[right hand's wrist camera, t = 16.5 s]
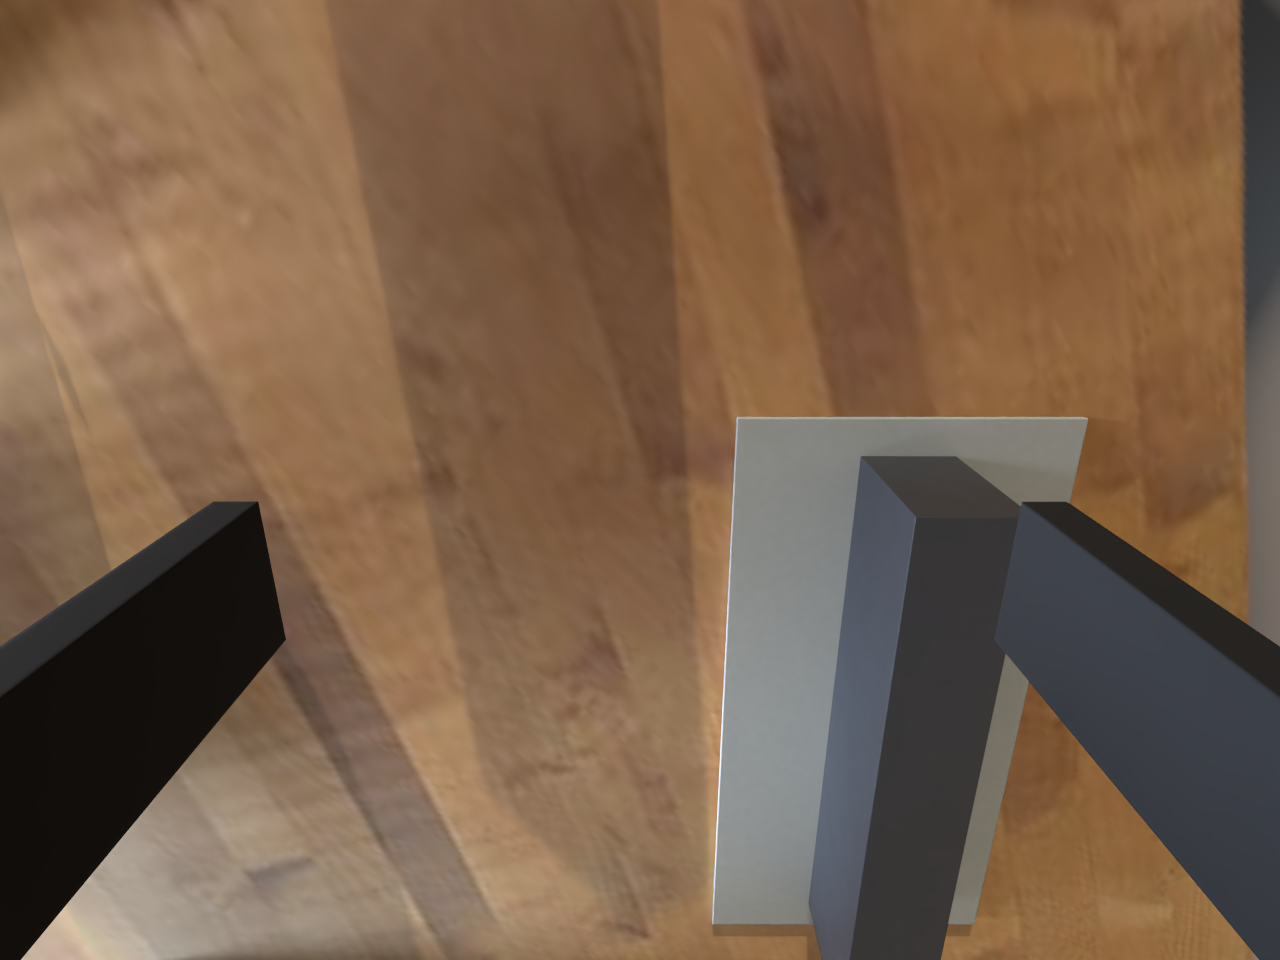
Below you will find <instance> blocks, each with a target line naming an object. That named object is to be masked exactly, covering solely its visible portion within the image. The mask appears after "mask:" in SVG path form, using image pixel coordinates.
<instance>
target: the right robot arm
mask: <svg viewBox="0 0 1280 960" xmlns="http://www.w3.org/2000/svg"><path fill="white" fill-rule="evenodd" d="M285 640H286V638H285V633H284V628H283V623H282V618H281V613H280V608H279V603H278V598H277V593H276V588H275V583H274V578H273V573H272V568H271V563H270V558H269V553H268V548H267V543H266V538H265V533H264V528H263V523H262V518H261V513H260V509H259V504H258V502H212V503H211V504H209V505H208V506H206V507H205V508H204V509H202V510H201V511H199V512H198V513H196V514H195V515H193V516H192V517H190V518H189V519H187V520H186V521H184V522H183V523H181V524H180V525H179V526H177V527H176V528H174V529H173V530H171V531H170V532H168V533H167V534H165V535H164V536H162V537H161V538H159V539H158V540H156V541H155V542H153V543H152V544H151V545H149V546H148V547H146V548H145V549H143V550H142V551H140V552H139V553H137V554H136V555H134V556H133V557H131V558H130V559H128V560H127V561H126V562H124V563H123V564H121V565H120V566H118V567H117V568H115V569H114V570H112V571H111V572H109V573H108V574H106V575H105V576H103V577H102V578H101V579H99V580H98V581H96V582H95V583H93V584H92V585H90V586H89V587H87V588H86V589H84V590H83V591H81V592H80V593H78V594H77V595H76V596H74V597H73V598H71V599H70V600H68V601H67V602H65V603H64V604H62V605H61V606H59V607H58V608H56V609H55V610H53V611H52V612H51V613H49V614H48V615H46V616H45V617H43V618H42V619H40V620H39V621H37V622H36V623H34V624H33V625H31V626H30V627H28V628H27V629H26V630H24V631H23V632H21V633H20V634H18V635H17V636H15V637H14V638H12V639H11V640H9V641H8V642H6V643H5V644H3V645H2V646H1V647H0V960H21V959H22V957H23V956H24V955H25V954H26V953H27V951H28V950H29V949H30V948H31V947H32V945H33V944H34V943H35V942H36V941H37V939H38V938H39V937H40V936H41V935H42V933H43V932H44V931H45V930H46V929H47V927H48V926H49V925H50V924H51V922H52V921H53V920H54V919H55V918H56V916H57V915H58V914H59V913H60V912H61V910H62V909H63V908H64V907H65V906H66V904H67V903H68V902H69V901H70V900H71V898H72V897H73V896H74V895H75V893H76V892H77V891H78V890H79V889H80V887H81V886H82V885H83V884H84V883H85V881H86V880H87V879H88V878H89V877H90V875H91V874H92V873H93V872H94V871H95V869H96V868H97V867H98V866H99V864H100V863H101V862H102V861H103V860H104V858H105V857H106V856H107V855H108V854H109V852H110V851H111V850H112V849H113V848H114V846H115V845H116V844H117V843H118V842H119V840H120V839H121V838H122V837H123V836H124V834H125V833H126V832H127V831H128V829H129V828H130V827H131V826H132V825H133V823H134V822H135V821H136V820H137V819H138V817H139V816H140V815H141V814H142V813H143V811H144V810H145V809H146V808H147V807H148V805H149V804H150V803H151V802H152V800H153V799H154V798H155V797H156V796H157V794H158V793H159V792H160V791H161V790H162V788H163V787H164V786H165V785H166V784H167V782H168V781H169V780H170V779H171V778H172V776H173V775H174V774H175V773H176V772H177V770H178V769H179V768H180V767H181V765H182V764H183V763H184V762H185V761H186V759H187V758H188V757H189V756H190V755H191V753H192V752H193V751H194V750H195V749H196V747H197V746H198V745H199V744H200V743H201V741H202V740H203V739H204V738H205V736H206V735H207V734H208V733H209V732H210V730H211V729H212V728H213V727H214V726H215V724H216V723H217V722H218V721H219V720H220V718H221V717H222V716H223V715H224V714H225V712H226V711H227V710H228V709H229V708H230V706H231V705H232V704H233V703H234V701H235V700H236V699H237V698H238V697H239V695H240V694H241V693H242V692H243V691H244V689H245V688H246V687H247V686H248V685H249V683H250V682H251V681H252V680H253V679H254V677H255V676H256V675H257V674H258V672H259V671H260V670H261V669H262V668H263V666H264V665H265V664H266V663H267V662H268V660H269V659H270V658H271V657H272V656H273V654H274V653H275V652H276V651H277V650H278V648H279V647H280V646H281V645H282V644H283V642H284V641H285ZM994 640H995V641H996V642H997V644H998V645H999V646H1000V647H1001V648H1002V650H1003V651H1004V652H1005V653H1006V654H1007V656H1008V657H1009V658H1010V659H1011V660H1012V662H1013V663H1014V664H1015V665H1016V666H1017V668H1018V669H1019V670H1020V671H1021V672H1022V674H1023V675H1024V676H1025V677H1026V679H1027V680H1028V681H1029V682H1030V683H1031V685H1032V686H1033V687H1034V688H1035V689H1036V691H1037V692H1038V693H1039V694H1040V695H1041V697H1042V698H1043V699H1044V700H1045V701H1046V703H1047V704H1048V705H1049V706H1050V708H1051V709H1052V710H1053V711H1054V712H1055V714H1056V715H1057V716H1058V717H1059V718H1060V720H1061V721H1062V722H1063V723H1064V724H1065V726H1066V727H1067V728H1068V729H1069V730H1070V732H1071V733H1072V734H1073V735H1074V736H1075V738H1076V739H1077V740H1078V741H1079V743H1080V744H1081V745H1082V746H1083V747H1084V749H1085V750H1086V751H1087V752H1088V753H1089V755H1090V756H1091V757H1092V758H1093V759H1094V761H1095V762H1096V763H1097V764H1098V765H1099V767H1100V768H1101V769H1102V770H1103V772H1104V773H1105V774H1106V775H1107V776H1108V778H1109V779H1110V780H1111V781H1112V782H1113V784H1114V785H1115V786H1116V787H1117V788H1118V790H1119V791H1120V792H1121V793H1122V794H1123V796H1124V797H1125V798H1126V799H1127V800H1128V802H1129V803H1130V804H1131V805H1132V807H1133V808H1134V809H1135V810H1136V811H1137V813H1138V814H1139V815H1140V816H1141V817H1142V819H1143V820H1144V821H1145V822H1146V823H1147V825H1148V826H1149V827H1150V828H1151V829H1152V831H1153V832H1154V833H1155V834H1156V836H1157V837H1158V838H1159V839H1160V840H1161V842H1162V843H1163V844H1164V845H1165V846H1166V848H1167V849H1168V850H1169V851H1170V852H1171V854H1172V855H1173V856H1174V857H1175V858H1176V860H1177V861H1178V862H1179V863H1180V864H1181V866H1182V867H1183V868H1184V869H1185V871H1186V872H1187V873H1188V874H1189V875H1190V877H1191V878H1192V879H1193V880H1194V881H1195V883H1196V884H1197V885H1198V886H1199V887H1200V889H1201V890H1202V891H1203V892H1204V893H1205V895H1206V896H1207V897H1208V898H1209V900H1210V901H1211V902H1212V903H1213V904H1214V906H1215V907H1216V908H1217V909H1218V910H1219V912H1220V913H1221V914H1222V915H1223V916H1224V918H1225V919H1226V920H1227V921H1228V922H1229V924H1230V925H1231V926H1232V927H1233V929H1234V930H1235V931H1236V932H1237V933H1238V935H1239V936H1240V937H1241V938H1242V939H1243V941H1244V942H1245V943H1246V944H1247V945H1248V947H1249V948H1250V949H1251V950H1252V951H1253V953H1254V954H1255V955H1256V956H1257V957H1258V959H1259V960H1280V647H1279V646H1278V645H1277V644H1275V643H1274V642H1272V641H1271V640H1269V639H1268V638H1266V637H1265V636H1263V635H1262V634H1260V633H1259V632H1257V631H1256V630H1254V629H1253V628H1252V627H1250V626H1249V625H1247V624H1246V623H1244V622H1243V621H1241V620H1240V619H1238V618H1237V617H1235V616H1234V615H1232V614H1231V613H1229V612H1228V611H1227V610H1225V609H1224V608H1222V607H1221V606H1219V605H1218V604H1216V603H1215V602H1213V601H1212V600H1210V599H1209V598H1207V597H1206V596H1204V595H1203V594H1202V593H1200V592H1199V591H1197V590H1196V589H1194V588H1193V587H1191V586H1190V585H1188V584H1187V583H1185V582H1184V581H1182V580H1181V579H1179V578H1178V577H1177V576H1175V575H1174V574H1172V573H1171V572H1169V571H1168V570H1166V569H1165V568H1163V567H1162V566H1160V565H1159V564H1157V563H1156V562H1154V561H1153V560H1152V559H1150V558H1149V557H1147V556H1146V555H1144V554H1143V553H1141V552H1140V551H1138V550H1137V549H1135V548H1134V547H1132V546H1131V545H1129V544H1128V543H1127V542H1125V541H1124V540H1122V539H1121V538H1119V537H1118V536H1116V535H1115V534H1113V533H1112V532H1110V531H1109V530H1107V529H1106V528H1104V527H1103V526H1101V525H1100V524H1099V523H1097V522H1096V521H1094V520H1093V519H1091V518H1090V517H1088V516H1087V515H1085V514H1084V513H1082V512H1081V511H1079V510H1078V509H1076V508H1075V507H1074V506H1072V505H1071V504H1069V503H1068V502H1022V504H1021V509H1020V513H1019V518H1018V523H1017V528H1016V533H1015V538H1014V543H1013V548H1012V553H1011V558H1010V563H1009V568H1008V573H1007V578H1006V583H1005V588H1004V593H1003V598H1002V603H1001V608H1000V613H999V618H998V623H997V628H996V633H995V638H994Z"/></svg>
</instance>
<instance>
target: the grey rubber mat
mask: <svg viewBox="0 0 1280 960" xmlns="http://www.w3.org/2000/svg"><path fill="white" fill-rule="evenodd" d="M1087 424H1088V418H1086V417H737V422H736V443H735V463H734V484H733V504H732V525H731V545H730V566H729V586H728V607H727V627H726V648H725V668H724V689H723V709H722V730H721V750H720V771H719V791H718V812H717V832H716V853H715V873H714V893H713V914H712V922H713V924H813V920H812V916H811V912H810V908H809V904H808V903H809V895H810V886H811V878H812V869H813V861H814V852H815V843H816V835H817V826H818V818H819V809H820V801H821V792H822V784H823V775H824V767H825V758H826V750H827V741H828V732H829V724H830V715H831V707H832V698H833V690H834V681H835V673H836V664H837V656H838V647H839V639H840V630H841V622H842V613H843V604H844V596H845V587H846V579H847V570H848V562H849V553H850V545H851V536H852V528H853V519H854V511H855V502H856V493H857V485H858V476H859V468H860V459H861V456H956V457H958V458H959V459H960V460H961V461H963V462H964V463H965V464H967V465H968V466H969V467H970V468H972V469H973V470H974V471H976V472H977V473H978V474H979V475H981V476H982V477H983V478H985V479H986V480H987V481H989V482H990V483H991V484H992V485H994V486H995V487H996V488H998V489H999V490H1000V491H1001V492H1003V493H1004V494H1005V495H1007V496H1008V497H1009V498H1010V499H1012V500H1013V501H1014V502H1016V503H1017V504H1018V505H1020V506H1021V504H1022V502H1068V503H1070V499H1071V494H1072V490H1073V486H1074V481H1075V477H1076V472H1077V468H1078V464H1079V459H1080V455H1081V450H1082V446H1083V441H1084V437H1085V433H1086V428H1087ZM1028 684H1029V681H1028V680H1027V679H1026V677H1025V676H1024V675H1023V674H1022V672H1021V671H1020V670H1019V669H1018V668H1017V666H1016V665H1015V664H1014V663H1013V662H1012V660H1011V659H1010V658H1009V657H1008V656H1007V654H1006V655H1005V660H1004V664H1003V669H1002V674H1001V678H1000V683H999V688H998V692H997V697H996V702H995V706H994V711H993V716H992V720H991V725H990V730H989V735H988V739H987V744H986V749H985V753H984V758H983V763H982V767H981V772H980V777H979V781H978V786H977V791H976V795H975V800H974V805H973V810H972V814H971V819H970V824H969V828H968V833H967V838H966V842H965V847H964V852H963V856H962V861H961V866H960V870H959V875H958V880H957V885H956V889H955V894H954V899H953V903H952V908H951V913H950V917H949V922H948V924H974V923H975V919H976V914H977V910H978V905H979V901H980V896H981V892H982V888H983V883H984V879H985V874H986V870H987V866H988V861H989V857H990V852H991V848H992V843H993V839H994V835H995V830H996V826H997V821H998V817H999V813H1000V808H1001V804H1002V799H1003V795H1004V790H1005V786H1006V782H1007V777H1008V773H1009V768H1010V764H1011V760H1012V755H1013V751H1014V746H1015V742H1016V737H1017V733H1018V729H1019V724H1020V720H1021V715H1022V711H1023V707H1024V702H1025V698H1026V693H1027V689H1028Z"/></svg>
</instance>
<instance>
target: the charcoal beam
mask: <svg viewBox="0 0 1280 960" xmlns="http://www.w3.org/2000/svg"><path fill="white" fill-rule="evenodd" d="M1020 509H1021V506H1020V505H1018V504H1017V503H1016V502H1014V501H1013V500H1012V499H1010V498H1009V497H1008V496H1007V495H1005V494H1004V493H1003V492H1001V491H1000V490H999V489H998V488H996V487H995V486H994V485H992V484H991V483H990V482H989V481H987V480H986V479H985V478H983V477H982V476H981V475H979V474H978V473H977V472H976V471H974V470H973V469H972V468H970V467H969V466H968V465H967V464H965V463H964V462H963V461H961V460H960V459H959V458H958V457H956V456H861V459H860V468H859V476H858V485H857V493H856V502H855V511H854V519H853V528H852V536H851V545H850V553H849V562H848V570H847V579H846V587H845V596H844V604H843V613H842V622H841V630H840V639H839V647H838V656H837V664H836V673H835V681H834V690H833V698H832V707H831V715H830V724H829V732H828V741H827V750H826V758H825V767H824V775H823V784H822V792H821V801H820V809H819V818H818V826H817V835H816V843H815V852H814V861H813V869H812V878H811V886H810V895H809V903H808V904H809V908H810V912H811V916H812V920H813V924H814V928H815V933H816V937H817V941H818V945H819V949H820V953H821V957H822V960H941V955H942V950H943V946H944V941H945V936H946V931H947V927H948V922H949V917H950V913H951V908H952V903H953V899H954V894H955V889H956V885H957V880H958V875H959V870H960V866H961V861H962V856H963V852H964V847H965V842H966V838H967V833H968V828H969V824H970V819H971V814H972V810H973V805H974V800H975V795H976V791H977V786H978V781H979V777H980V772H981V767H982V763H983V758H984V753H985V749H986V744H987V739H988V735H989V730H990V725H991V720H992V716H993V711H994V706H995V702H996V697H997V692H998V688H999V683H1000V678H1001V674H1002V669H1003V664H1004V660H1005V655H1006V653H1005V652H1004V651H1003V650H1002V648H1001V647H1000V646H999V645H998V644H997V642H996V641H995V640H994V638H995V633H996V628H997V623H998V618H999V613H1000V608H1001V603H1002V598H1003V593H1004V588H1005V583H1006V578H1007V573H1008V568H1009V563H1010V558H1011V553H1012V548H1013V543H1014V538H1015V533H1016V528H1017V523H1018V518H1019V513H1020Z"/></svg>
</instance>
